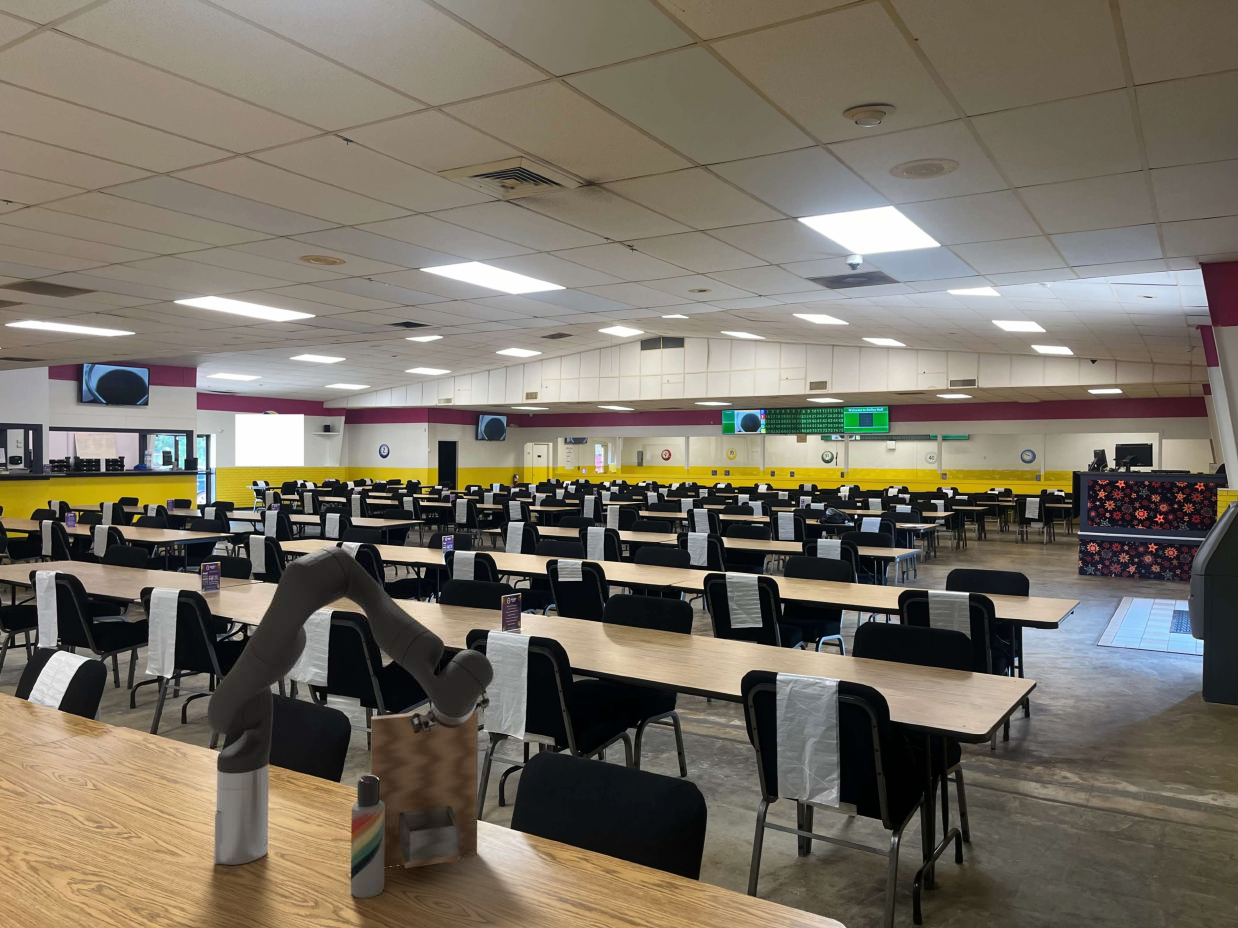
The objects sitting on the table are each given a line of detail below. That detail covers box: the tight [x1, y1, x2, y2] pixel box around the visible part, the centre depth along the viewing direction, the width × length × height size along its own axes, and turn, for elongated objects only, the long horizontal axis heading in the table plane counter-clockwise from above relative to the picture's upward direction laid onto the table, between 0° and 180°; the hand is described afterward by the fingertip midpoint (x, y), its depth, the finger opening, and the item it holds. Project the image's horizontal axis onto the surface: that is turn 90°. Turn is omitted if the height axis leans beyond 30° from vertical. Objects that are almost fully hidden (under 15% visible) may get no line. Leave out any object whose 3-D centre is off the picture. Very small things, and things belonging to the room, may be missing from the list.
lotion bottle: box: [350, 774, 385, 899], centre depth 149 cm, size 6×6×20 cm
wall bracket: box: [370, 710, 479, 869], centre depth 157 cm, size 20×12×28 cm, turn 110°
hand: (448, 717), depth 160 cm, fingers open, 8 cm apart
